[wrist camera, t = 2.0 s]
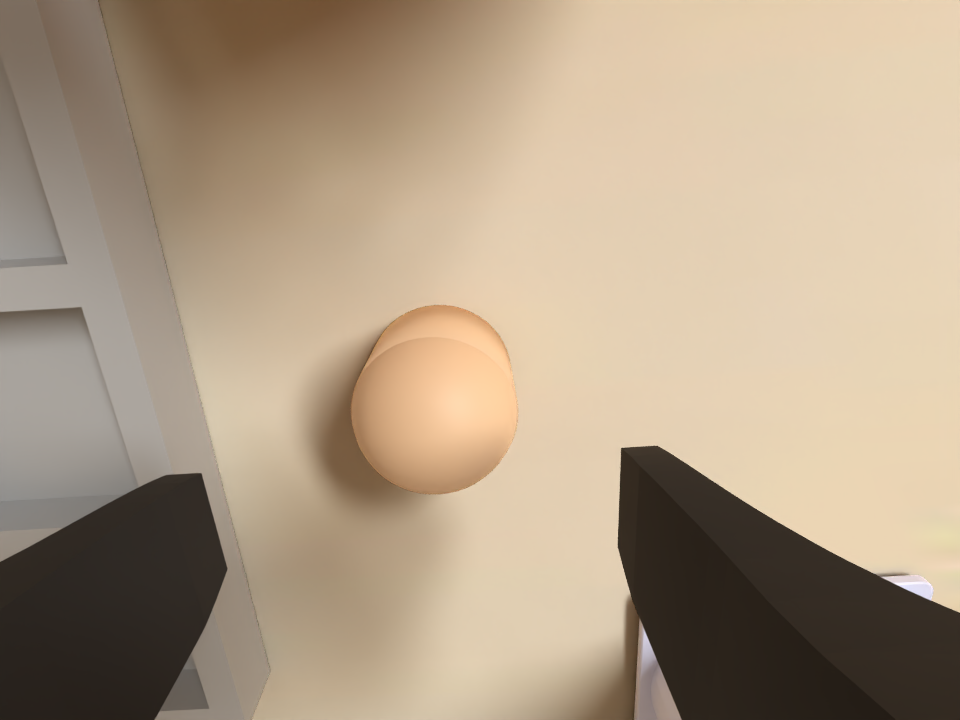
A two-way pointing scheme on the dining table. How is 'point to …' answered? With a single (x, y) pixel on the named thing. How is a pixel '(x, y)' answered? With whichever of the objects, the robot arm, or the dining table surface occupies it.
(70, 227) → the grey compartment tray
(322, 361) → the dining table surface
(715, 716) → the robot arm
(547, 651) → the dining table surface
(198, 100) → the dining table surface
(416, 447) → the egg
